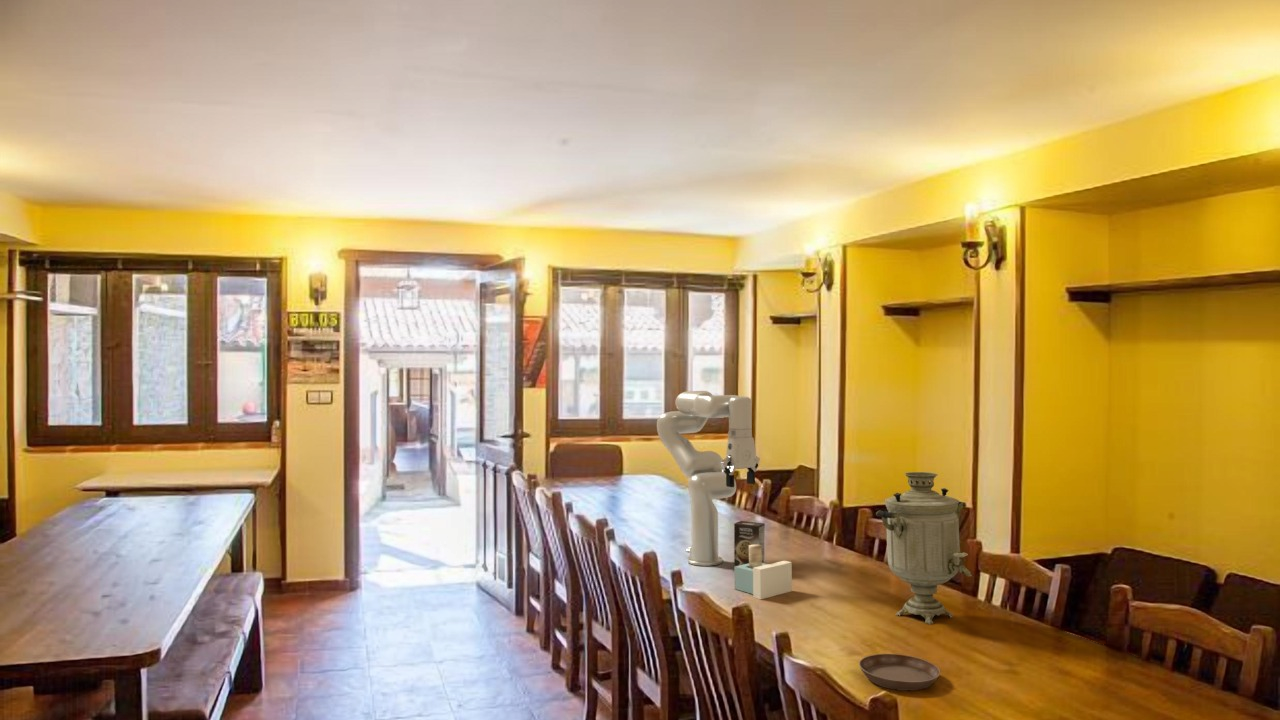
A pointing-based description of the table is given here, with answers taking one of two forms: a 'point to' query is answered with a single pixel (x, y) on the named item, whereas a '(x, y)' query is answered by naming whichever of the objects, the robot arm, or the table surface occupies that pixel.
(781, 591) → the block
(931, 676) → the plant saucer
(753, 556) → the dowel
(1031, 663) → the table surface
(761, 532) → the coffee box
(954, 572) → the samovar
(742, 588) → the green square container
